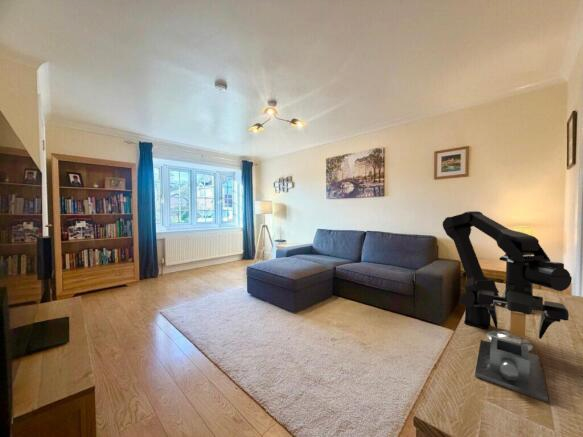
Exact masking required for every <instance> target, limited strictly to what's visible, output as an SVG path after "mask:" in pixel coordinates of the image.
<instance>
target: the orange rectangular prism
mask: <svg viewBox="0 0 583 437" xmlns="http://www.w3.org/2000/svg"><path fill="white" fill-rule="evenodd" d="M509 322H510V324H509V326H510V327H509V332H511V333H514V334H516V335H518V336H520V337H522V338H524V339H526V314H524V313H520V312H512V311H510V320H509Z"/></svg>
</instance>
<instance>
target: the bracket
mask: <svg viewBox="0 0 583 437" xmlns="http://www.w3.org/2000/svg"><path fill="white" fill-rule="evenodd" d="M486 339H487V341H486V340H482V339H480V344H479V349H478V353H477V360H476V365H475V372H474V377H475V376H476V377H475V378H478V377H479V378H478V379H481V378H482V379H481V380H483V379H484V381H486V380H487V382H489V381H490V382H489V383H492V384H494V383H495V385H497V384H498V385H497V386H500V385H502V386H501V387H503V386H505V387H504V388H506V387H508V388H510V389H509V390H511V389H513V390H512V391H514V390H516V391H515V392H517V391H518V392H517V393H520V394H522V393H523V395H526V396H528V397H531V398H535V399H537V400H538V401H539V400H540V401H543V402H545V403H548V401H549V398H548V392H547V389H546V384H545V378H544V376H543V370H542V367H541V361H540V358H539V355H537V354H534V353H530V352H532V351H533V349H534V348H533V344H532V343H531V342H530V341H529V340H528V339H526V338H525V339H524V338H522V337H520V336H518V335H516V334H514V333H511V332H510V331H505V330H489V331H487V332H486ZM508 388H507V389H508Z"/></svg>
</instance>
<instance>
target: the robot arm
mask: <svg viewBox="0 0 583 437" xmlns="http://www.w3.org/2000/svg"><path fill="white" fill-rule="evenodd" d="M472 227H475V228H476V229H478V230H479V231H480V232H481V233H484V234H485V235H486V236H488V237H490V238H491V239H493V240H494V241H495V242H496V244H497V247H498V248H499V249H501V251H503V252H504V253H505V254H504V255H502V256H500V257H499V261H502V262H506V264H505V267H506V268H505V289H504V291H505V297H500V296H501V295H499V293H500V291H499V289H498V288H497V285H496V281H494V279H488V278H487V277H486V276H485V274H484V272H483V270H482V267H481V264H480V263H479V259H478V257H477V254H476V252H475V248H474V246H473V243H472V241H471V239H470V236H471V233H472ZM442 228H443V230H444V232H445V234H446V235H447V236H448V237H449V238H451V240H452V241H453V242H454V245H455V248H456V251H457V253H458V257H459V260H460V261H461V262H460V263H461V265H462V268H463V272H464V274H465V276H466V281H465V285H464V289H465V293H463V294H462V295H461V296H459V304H461V305H462V306H465V309H464V310H465V312H464V314H465V315H464V321H463V323H464V324H466V325H469V326H472V327H477V328H482V329H485V330H489V327H490V326H491V321H492V322H493V325H494V327H495V328H496V329H498V316H497V315H498V314H497V305H496V304H498V303H502V304H503V305H504V304H507V308H506V309H507V310H508V311H509V312H511V311H512V312H520V313H524V314H525V315H528V316H529V315H532V314H533V311H534V312H535V311H536V312H538V311H539V312H541V317H540V321H539V322H540V323H539V327H538V339H540V340H542V338H543V336H544V335H545V333H546V332H547V330H548V328H549V327H550V326H551V325H552V324H553V323H555V322H557V323H560V322H561V321H569V316H570V315H569V314H570V312H569V310H568V308H567V307H566V305H565V304H563V303H560V302H553V301H549V300H544V298H543V297H542V296H537V295H533V293H534V285H537V286H540V287H543V288H546V289H550V290H553V291H558V292H563V291H566V290H567V289H568V288H569V287H570V285H571V284H572V280H573V279H572V278H573V277H572V276H571V273H570V271H568V269H566V268H565V264H564V263H563V262H559V261H558V262H554V261H551V259H550V257H549V256H548V254H547V253H546V251H544V248H542V246H541V245H540V242H539V241H540V240H539V239H538V238H536V237H535V236H533V235H531V234H528V233H525V232H522V231H516V230H512V229H510V228H507V227H506V226H504V225H503V224H500V223H499V222H497V221H495V220H493V219H492V218H490V217H488V216H486V215H485V214H483V212H480V211H469V210H468V211H466V212H465V211H464V212H463V213H461V214H457V215H453V216H447V217H445V218H444V220H443V221H442ZM496 302H497V303H496Z"/></svg>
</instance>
